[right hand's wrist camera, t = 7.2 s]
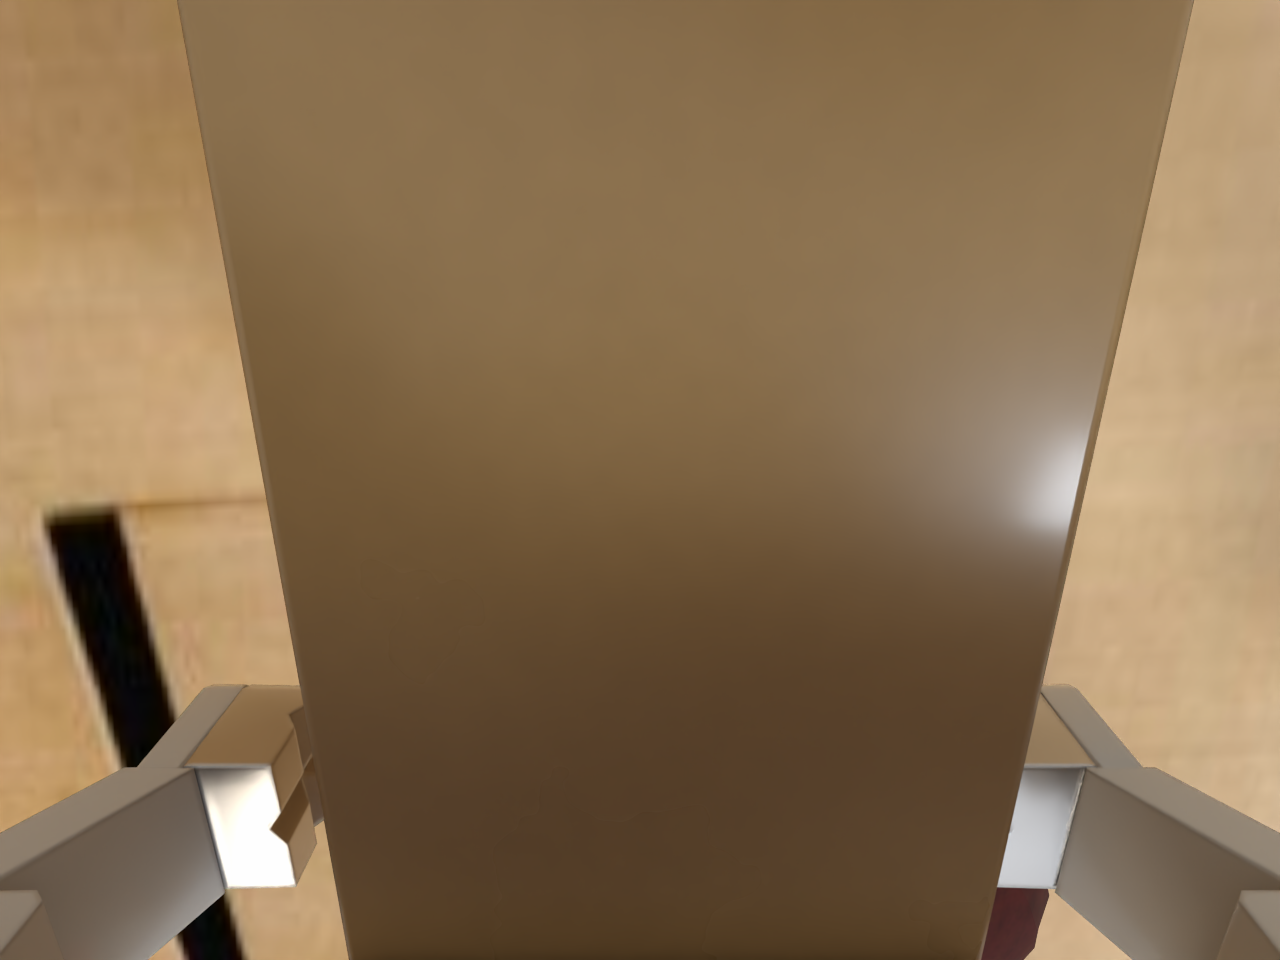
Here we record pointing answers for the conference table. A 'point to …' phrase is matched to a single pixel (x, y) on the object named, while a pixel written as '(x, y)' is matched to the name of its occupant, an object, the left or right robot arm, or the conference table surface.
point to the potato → (1014, 923)
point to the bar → (676, 442)
